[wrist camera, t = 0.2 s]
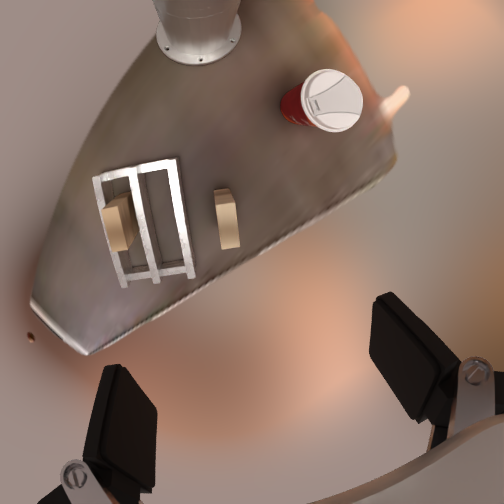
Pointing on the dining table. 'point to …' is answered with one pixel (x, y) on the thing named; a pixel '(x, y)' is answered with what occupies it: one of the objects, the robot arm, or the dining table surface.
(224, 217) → the beech board
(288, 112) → the paper cup
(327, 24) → the dining table surface
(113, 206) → the oak board
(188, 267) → the rack
